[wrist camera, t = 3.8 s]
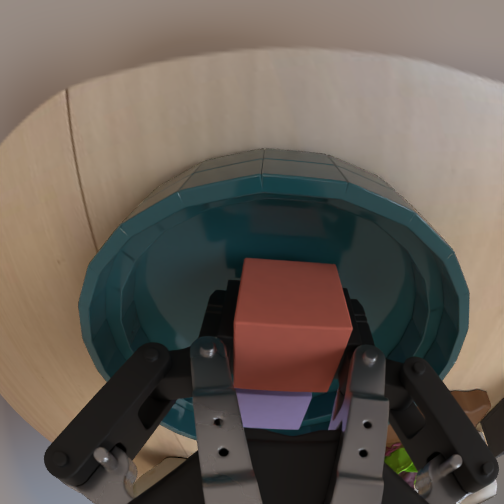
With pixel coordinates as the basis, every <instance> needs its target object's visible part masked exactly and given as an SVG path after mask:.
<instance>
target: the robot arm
mask: <svg viewBox="0 0 504 504" xmlns="http://www.w3.org/2000/svg"><path fill="white" fill-rule="evenodd" d="M239 287H240V280H228V284H227V288H226V290H215V291H214V292H213V293H212V294H211V296H210V297H209V301H208V304H207V308H206V312H205V315H204V319H203V322H202V326H201V330H200V333H199V337H198V339H196V340H195V341H194V342H193V343H192V344H191V346H189V347H187V348H184V349H179V350H170V351H169V350H168V349H167V347H166V346H164V345H163V344H160V343H157V342H150V343H146V344H144V345H142V346H140V347H139V348H138V349H137V350H136V351H135V352H134V353H133V354H132V356H131V357H130V358H129V359H128V360H127V361H126V362H125V363H124V364H123V365H122V366H121V367H120V369H119V370H118V371H117V372H116V373H115V374H114V375H113V376H112V377H111V378H110V379H109V381H108V382H107V383H106V384H105V385H104V386H103V387H102V388H101V389H100V390H99V391H98V393H97V394H96V395H95V396H94V397H93V398H92V399H91V400H90V401H89V402H88V404H87V405H86V406H85V407H84V408H83V409H82V410H81V411H80V412H79V414H78V415H77V416H76V417H75V418H74V419H73V420H72V421H71V422H70V424H69V425H68V426H67V427H66V428H65V429H64V430H63V431H62V433H61V434H60V435H59V436H58V437H57V438H56V439H55V440H54V442H53V443H52V444H51V445H50V446H49V447H48V449H47V450H46V452H45V455H44V463H45V466H46V468H47V470H48V471H49V472H50V473H51V474H52V475H53V476H55V477H56V478H58V479H59V480H60V481H62V482H63V483H64V484H65V485H67V486H69V487H70V488H72V489H74V490H75V491H77V492H79V493H82V494H83V495H84V496H85V497H87V498H88V499H89V500H90V501H92V502H93V503H94V504H458V503H460V502H461V501H462V500H463V499H464V498H466V497H468V496H470V495H472V494H474V493H476V492H477V491H479V490H481V489H483V488H484V487H486V486H488V485H490V484H491V483H493V482H494V481H495V479H496V478H497V475H498V471H499V467H498V462H497V460H496V458H495V457H494V455H493V454H492V452H491V450H490V449H489V447H488V446H487V444H486V443H485V441H484V440H483V438H482V437H481V435H480V434H479V432H478V431H477V429H476V428H475V426H474V425H473V423H472V422H471V420H470V419H469V418H468V416H467V415H466V413H465V412H464V410H463V409H462V408H461V406H460V405H459V403H458V402H457V401H456V399H455V398H454V396H453V395H452V394H451V392H450V391H449V390H448V388H447V387H446V385H445V384H444V383H443V381H442V380H441V379H440V377H439V376H438V375H437V373H436V372H435V371H434V369H433V368H432V367H431V366H430V364H429V363H428V362H427V361H426V360H424V359H423V358H420V357H409V358H408V359H406V360H405V362H404V363H400V362H396V361H392V360H389V359H387V358H385V355H384V353H383V352H382V351H381V350H380V349H379V348H377V347H375V344H374V341H373V337H372V334H371V331H370V327H369V324H368V321H367V317H366V314H365V311H364V308H363V306H362V305H361V304H360V302H359V301H358V300H357V299H350V296H349V292H348V289H347V288H342V289H343V293H344V296H345V300H346V304H347V308H348V311H349V315H350V319H351V323H352V327H353V330H352V332H351V335H350V338H349V340H348V343H347V346H346V348H345V351H344V353H343V356H342V358H341V361H340V363H339V366H338V368H337V371H336V373H335V376H334V378H333V379H338V380H339V387H338V389H337V391H336V397H335V402H334V407H333V412H332V416H331V421H330V425H329V428H328V430H318V431H314V432H310V433H306V434H301V435H297V436H287V435H283V434H280V433H276V432H272V431H269V430H265V429H255V428H244V427H243V423H242V418H241V413H240V408H239V403H238V398H237V394H236V390H235V388H234V387H233V382H232V377H231V374H233V335H234V317H235V311H236V305H237V299H238V293H239ZM190 397H193V408H194V418H195V428H196V436H197V445H198V450H197V451H196V452H195V453H194V454H193V455H191V456H190V457H189V458H188V459H186V460H185V461H184V462H183V463H181V464H180V465H179V466H178V467H176V468H175V469H174V470H172V471H171V472H170V473H168V474H167V475H166V476H165V477H163V478H162V479H161V480H159V481H158V482H156V483H155V484H154V485H152V486H151V487H150V488H148V489H147V490H145V491H144V492H143V493H141V494H140V495H138V496H137V497H135V495H134V493H133V485H134V482H135V480H136V478H137V468H136V466H135V464H134V463H133V461H132V460H133V459H134V458H135V456H136V455H137V454H138V452H139V451H140V450H141V448H142V447H143V446H144V444H145V443H146V442H147V440H148V439H149V438H150V436H151V435H152V434H153V432H154V431H155V430H156V428H157V427H158V426H159V424H160V423H161V421H162V420H163V419H164V417H165V416H166V415H167V413H168V412H169V411H170V409H171V408H172V406H173V405H174V404H175V402H176V401H177V399H182V398H190ZM413 401H414V402H415V403H416V405H417V406H418V408H419V409H418V408H417V406H416V405H415V403H414V402H413ZM419 410H420V411H421V412H420V411H419ZM421 413H422V414H423V415H422V414H421ZM423 416H424V417H423ZM388 421H389V423H390V425H391V426H392V428H393V430H394V431H395V433H396V435H397V436H398V438H399V440H400V442H401V443H402V445H403V447H404V448H405V450H406V452H407V454H408V455H409V457H410V459H411V460H412V462H413V464H414V466H415V467H416V469H417V471H418V473H417V475H416V482H415V488H416V489H417V490H418V493H417V492H416V491H415V490H414V489H413V488H412V487H411V486H410V485H409V484H407V483H406V482H405V481H404V480H403V479H402V478H401V477H400V476H399V475H398V474H397V473H396V472H395V471H394V470H392V469H391V468H390V467H389V466H388V465H387V464H386V463H385V462H384V457H385V449H386V440H387V429H388Z"/></svg>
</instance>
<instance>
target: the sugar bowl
mask: <svg viewBox="0 0 504 504" xmlns="http://www.w3.org/2000/svg"><path fill="white" fill-rule="evenodd" d="M185 460H186V459H182V458H166V459H164V460H163V461H162V462H161V463H160V464H158V465H157V466H155V467H154V468H152V469H151V470H149V471H147V472H146V473H145V474H143V475H142V476H141V477H140V478H139V479H138V480H137V481H136V482H135V483H134V485H133V493H134V495H135V497H137V496H138V495H140V494H141V493H143V492H144V491H145V490H147V489H148V488H150V487H151V486H152V485H154V484H155V483H156V482H158V481H159V480H161V479H162V478H163V477H165V476H166V475H167V474H168V473H170V472H171V471H172V470H174V469H175V468H176V467H178V466H179V465H180V464H181V463H183V462H184V461H185Z"/></svg>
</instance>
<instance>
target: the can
mask: <svg viewBox="0 0 504 504" xmlns="http://www.w3.org/2000/svg"><path fill="white" fill-rule="evenodd" d="M478 432H479V434H480V435H481V437H482V438H483V440H484V441H485V439H484V436H483V433H482V432H480V431H478ZM485 443H486V442H485ZM496 489H497V482H496V479H495V481H494V482H493V483H491V484H490V485H488V486H486V487H484V488H483V489H481V490H479V491H477V492H476V493H474V494H472V495H470V496H468V497H466V498H464V499H463V500H462V501H461V502H460V503H458V504H480V503H482V502H484V501H486V500H488V499H490V498H492V497H494V496H496Z"/></svg>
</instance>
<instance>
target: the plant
mask: <svg viewBox="0 0 504 504" xmlns="http://www.w3.org/2000/svg"><path fill="white" fill-rule="evenodd" d="M451 394H452V395H453V396H454V398H455V399H456V401H457V402H458V403H459V405H460V406H461V408H462V409H463V410H464V412H465V413H466V415H467V416H468V418H469V419H470V420H471V422H472V423H473V425H474V426H475V428H476V425H477V424H478V423H479V422H480V421H481V420H482V418H483V417H484V416H485V415H486V413H487V412H488V411H489V409H490V408H491V403H490V401H489V398H488V395H487V392H486V391H481V390H474V391H470V392H462V391H452V392H451ZM417 408H418V406H417ZM418 409H419V408H418ZM419 411H420V410H419ZM420 412H421V411H420ZM421 414H422V413H421ZM422 415H423V414H422ZM423 417H424V416H423ZM384 462H385V463H386V464H387V465H388V466H389V467H390V468H391V469H392V470H394V471H395V472H396V473H397V474H398V475H399V476H400V477H401V478H402V479H403V480H404V481H405V482H406V483H407V484H409V485H410V486H411V487H412V488H413V489H414V485H415V482H416V475H417V473H418V471H417V469H416V467H415V466H414V464H413V462H412V460H411V459H410V457H409V455H408V454H407V452H406V450H405V448H404V447H403V445H402V443H401V442H400V440H399V438H398V436H397V435H396V433H395V431H394V430H393V428H392V426H391V425H390V424H389V425H388V429H387V440H386V449H385V457H384Z"/></svg>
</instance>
